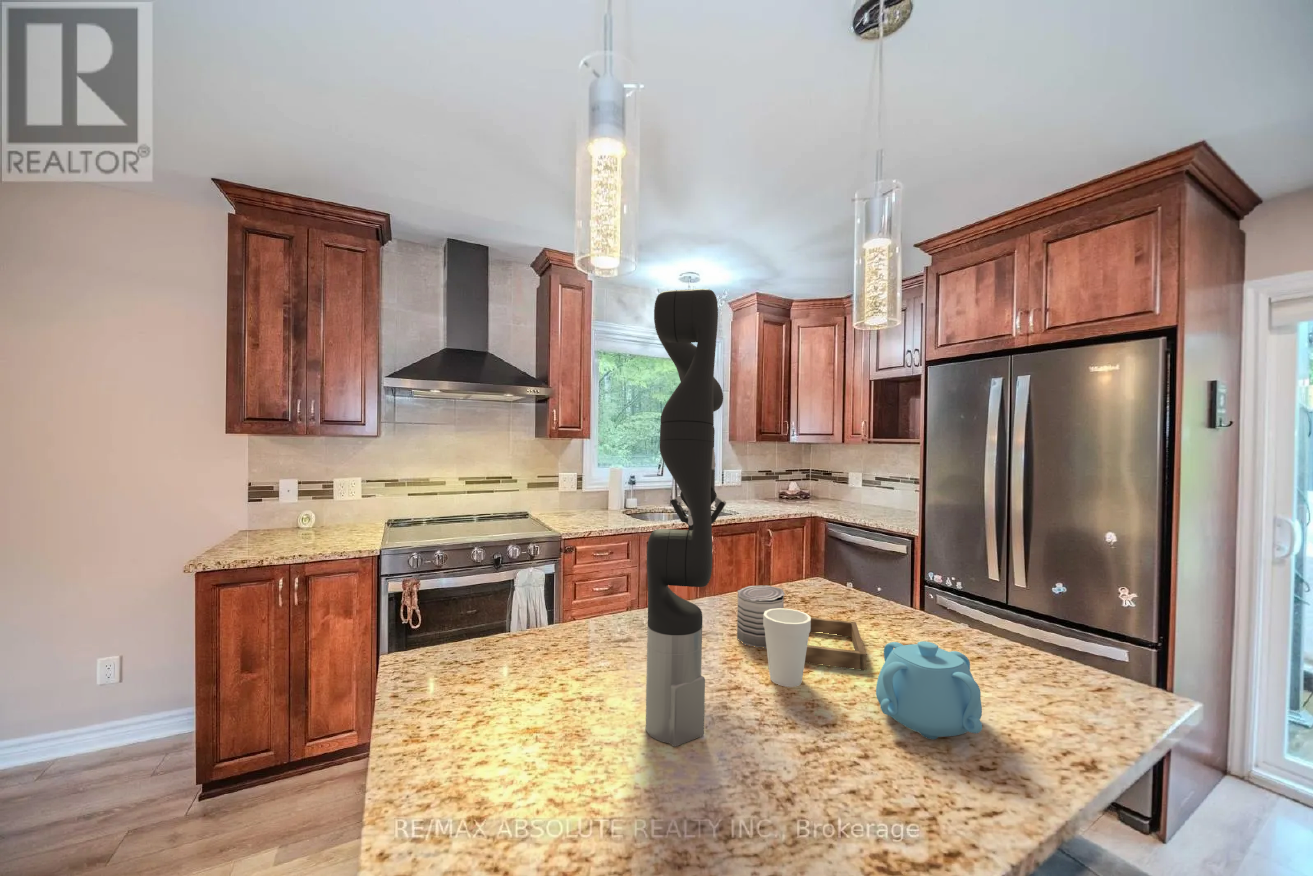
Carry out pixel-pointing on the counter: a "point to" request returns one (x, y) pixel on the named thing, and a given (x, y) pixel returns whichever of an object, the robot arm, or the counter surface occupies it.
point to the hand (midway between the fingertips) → (697, 541)
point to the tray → (832, 654)
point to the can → (756, 612)
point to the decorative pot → (929, 690)
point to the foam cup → (786, 644)
